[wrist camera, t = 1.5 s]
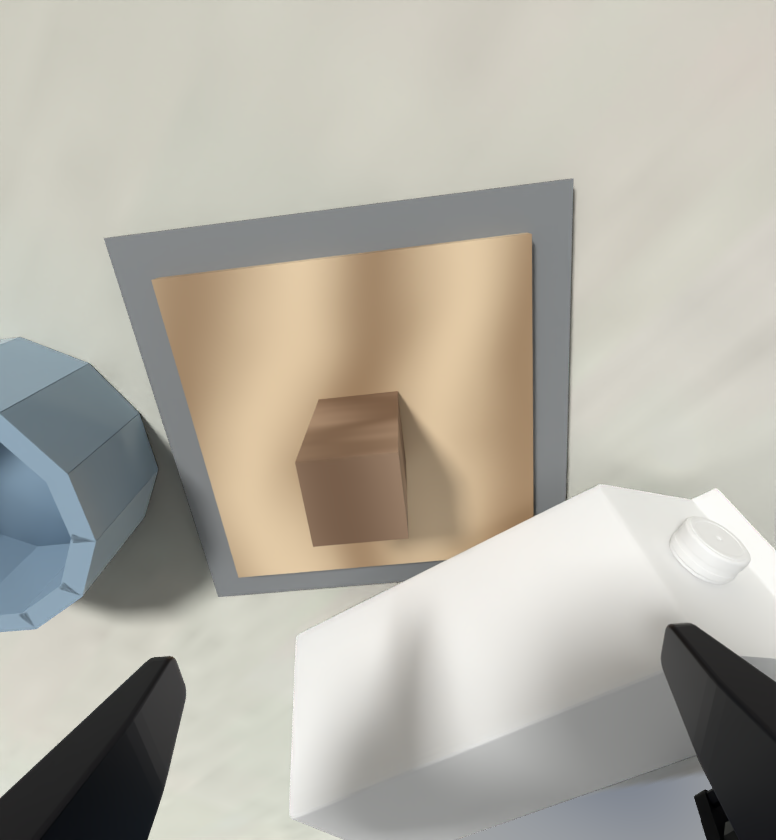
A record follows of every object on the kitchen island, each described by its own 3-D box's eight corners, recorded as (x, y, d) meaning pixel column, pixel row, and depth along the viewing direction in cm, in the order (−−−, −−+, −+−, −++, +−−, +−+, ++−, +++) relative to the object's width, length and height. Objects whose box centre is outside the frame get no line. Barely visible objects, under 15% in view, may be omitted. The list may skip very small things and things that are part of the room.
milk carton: (377, 693, 27) (732, 535, 23) (393, 863, 22) (871, 695, 17) (292, 635, 24) (698, 432, 19) (284, 821, 18) (861, 592, 13)
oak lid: (527, 232, 18) (582, 248, 12) (530, 543, 23) (569, 645, 18) (158, 277, 18) (66, 309, 13) (242, 568, 24) (199, 673, 18)
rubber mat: (568, 179, 17) (573, 178, 17) (560, 560, 24) (564, 568, 23) (111, 237, 18) (103, 238, 18) (221, 589, 25) (218, 596, 24)
